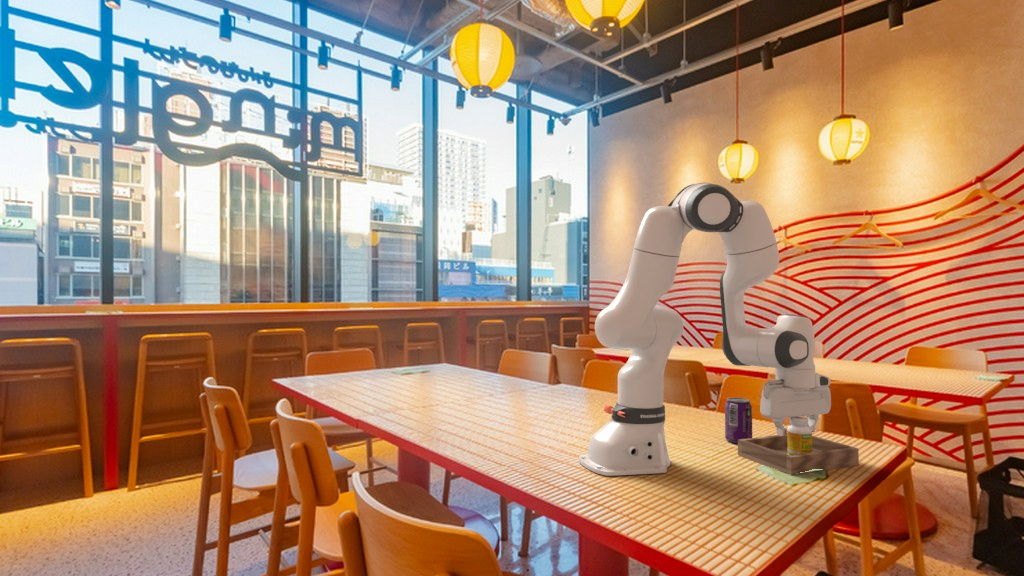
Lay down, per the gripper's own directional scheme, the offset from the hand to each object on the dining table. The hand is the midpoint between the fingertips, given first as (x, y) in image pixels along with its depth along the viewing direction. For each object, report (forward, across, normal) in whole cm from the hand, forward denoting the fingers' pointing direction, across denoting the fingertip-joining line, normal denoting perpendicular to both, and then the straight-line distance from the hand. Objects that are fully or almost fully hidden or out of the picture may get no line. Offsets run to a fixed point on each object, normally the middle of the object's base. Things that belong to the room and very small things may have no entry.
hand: (796, 433), depth 125 cm
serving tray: (+7, 0, 0) cm, 7 cm away
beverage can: (+7, -1, +18) cm, 19 cm away
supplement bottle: (+6, 0, -1) cm, 6 cm away
